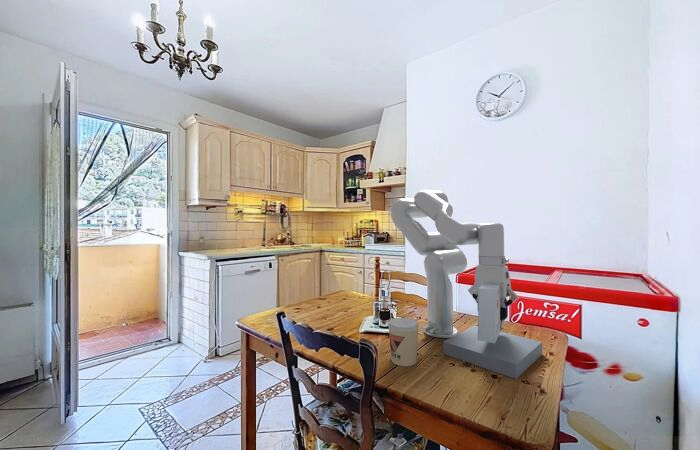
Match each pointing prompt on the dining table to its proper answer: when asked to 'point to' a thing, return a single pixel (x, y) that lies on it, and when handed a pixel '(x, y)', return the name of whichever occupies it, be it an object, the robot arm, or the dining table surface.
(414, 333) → the coffee cup
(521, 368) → the podium
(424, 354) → the dining table surface
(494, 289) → the skincare box
